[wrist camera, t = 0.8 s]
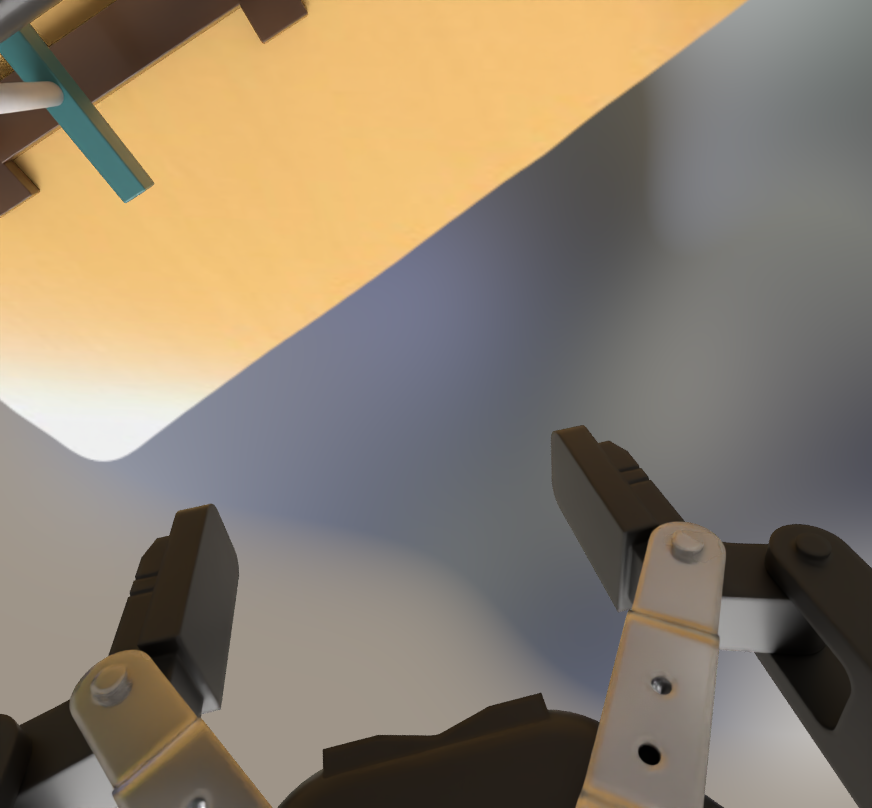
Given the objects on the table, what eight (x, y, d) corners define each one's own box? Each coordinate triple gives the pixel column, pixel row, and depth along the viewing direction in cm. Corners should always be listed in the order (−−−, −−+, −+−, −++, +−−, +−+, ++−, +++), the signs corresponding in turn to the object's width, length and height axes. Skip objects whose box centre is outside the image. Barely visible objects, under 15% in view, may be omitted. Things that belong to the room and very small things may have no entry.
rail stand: (-110, 102, 31) (-607, 141, 14) (227, -134, 29) (108, -416, 12) (1, 217, 35) (-293, 355, 18) (308, 15, 33) (302, -44, 16)
